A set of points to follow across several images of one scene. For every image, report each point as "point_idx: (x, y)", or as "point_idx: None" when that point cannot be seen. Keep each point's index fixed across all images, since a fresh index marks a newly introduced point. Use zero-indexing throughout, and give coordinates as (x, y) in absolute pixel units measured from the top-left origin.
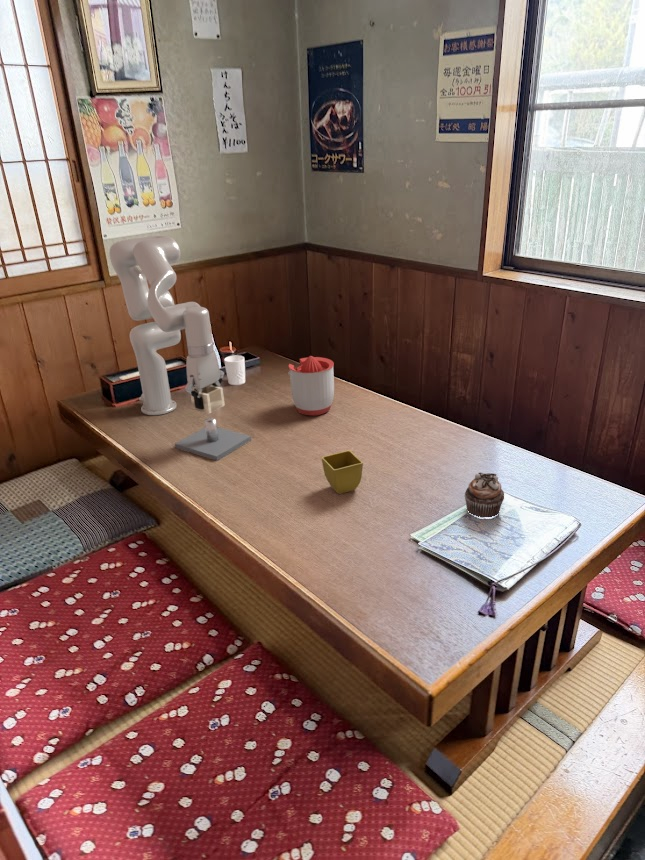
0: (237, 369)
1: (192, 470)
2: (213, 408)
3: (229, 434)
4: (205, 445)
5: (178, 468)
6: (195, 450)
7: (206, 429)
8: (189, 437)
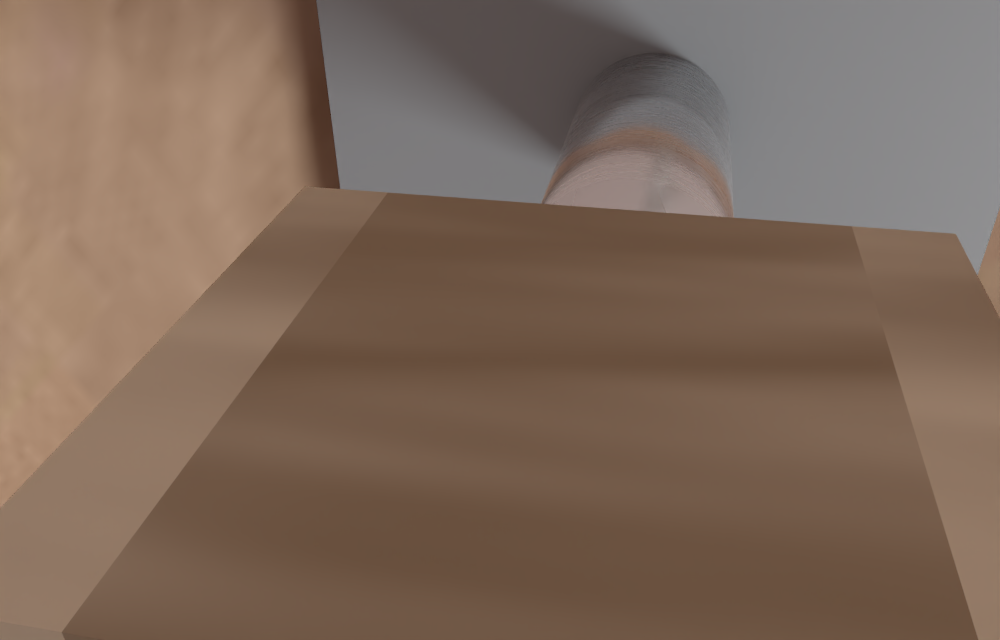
0: None
1: (135, 277)
2: None
3: (881, 226)
4: (479, 147)
5: (61, 139)
6: (333, 111)
7: (548, 184)
8: None
